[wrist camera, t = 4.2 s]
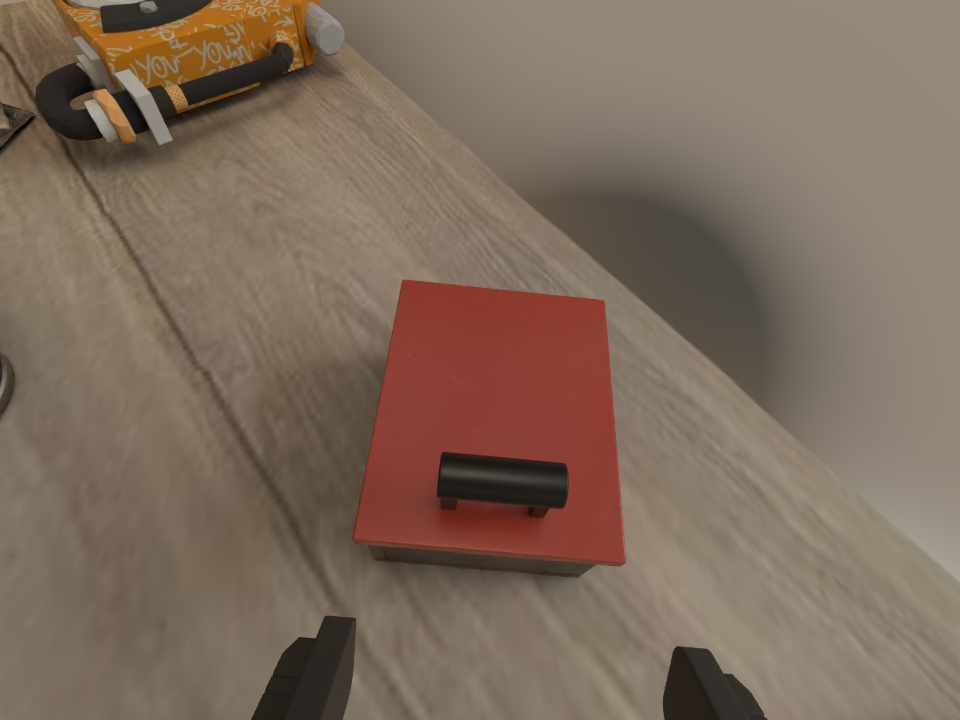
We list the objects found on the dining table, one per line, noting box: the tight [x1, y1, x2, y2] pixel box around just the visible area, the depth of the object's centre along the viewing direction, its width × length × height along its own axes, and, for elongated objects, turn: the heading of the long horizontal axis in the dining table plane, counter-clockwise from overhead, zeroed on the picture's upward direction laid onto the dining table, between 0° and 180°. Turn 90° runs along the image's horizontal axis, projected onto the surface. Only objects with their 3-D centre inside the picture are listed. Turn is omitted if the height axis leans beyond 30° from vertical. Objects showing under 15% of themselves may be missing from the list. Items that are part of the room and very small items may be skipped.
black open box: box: [368, 545, 596, 578], centre depth 30 cm, size 14×12×8 cm
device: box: [35, 0, 345, 145], centre depth 50 cm, size 23×8×30 cm
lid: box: [352, 280, 626, 567], centre depth 25 cm, size 15×12×5 cm
